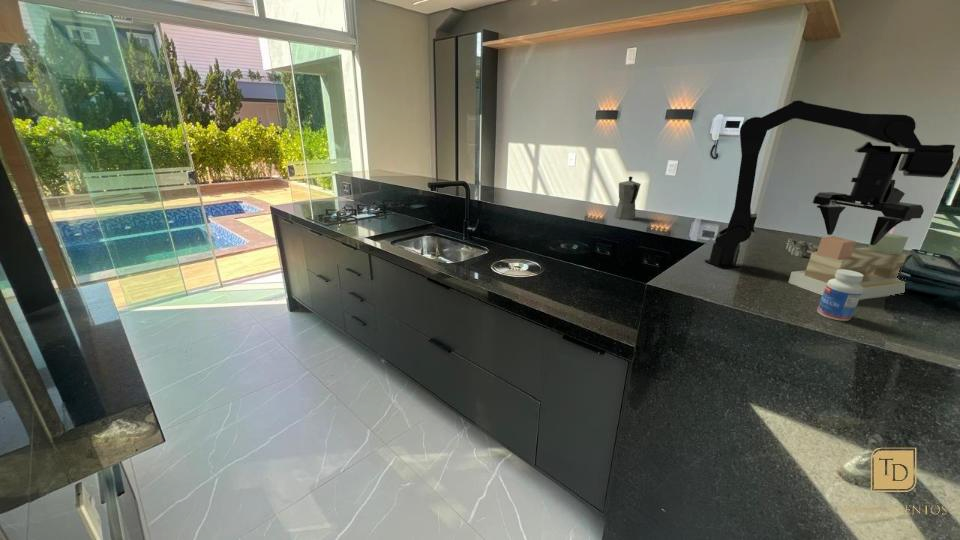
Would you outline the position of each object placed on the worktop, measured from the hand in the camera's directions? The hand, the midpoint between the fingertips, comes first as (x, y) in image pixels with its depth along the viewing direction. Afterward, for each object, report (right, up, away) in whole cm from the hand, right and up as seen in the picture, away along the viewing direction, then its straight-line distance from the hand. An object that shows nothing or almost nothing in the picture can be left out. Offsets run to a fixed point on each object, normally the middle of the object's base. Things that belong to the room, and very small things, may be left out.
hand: (850, 239), depth 91 cm
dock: (+1, -12, +2) cm, 12 cm away
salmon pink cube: (-7, -4, -3) cm, 9 cm away
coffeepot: (-26, +15, +75) cm, 81 cm away
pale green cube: (+9, -3, +1) cm, 9 cm away
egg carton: (+13, -2, +29) cm, 32 cm away
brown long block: (+1, -9, +1) cm, 9 cm away
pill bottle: (-16, -17, -13) cm, 27 cm away
